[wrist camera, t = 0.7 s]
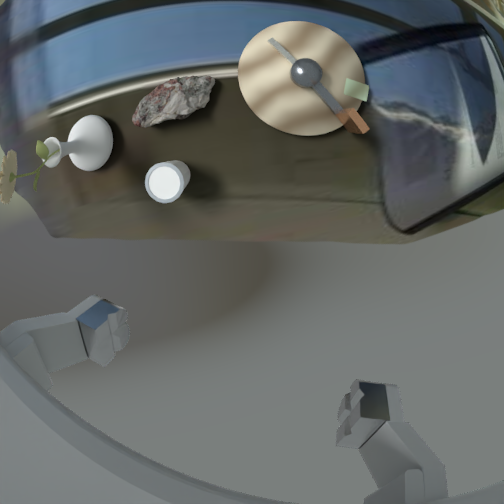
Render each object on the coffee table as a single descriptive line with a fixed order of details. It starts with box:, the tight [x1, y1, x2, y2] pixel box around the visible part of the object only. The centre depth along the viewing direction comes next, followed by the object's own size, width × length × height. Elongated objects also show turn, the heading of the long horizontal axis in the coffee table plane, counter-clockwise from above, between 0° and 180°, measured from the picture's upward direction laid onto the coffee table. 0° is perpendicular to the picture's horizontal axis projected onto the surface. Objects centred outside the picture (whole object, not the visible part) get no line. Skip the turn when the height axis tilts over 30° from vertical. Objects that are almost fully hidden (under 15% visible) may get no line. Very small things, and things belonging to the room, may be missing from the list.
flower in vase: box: [0, 115, 113, 204], centre depth 33 cm, size 13×11×25 cm
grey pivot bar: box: [268, 38, 369, 134], centre depth 35 cm, size 21×5×7 cm, turn 43°
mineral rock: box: [132, 76, 215, 128], centre depth 39 cm, size 15×8×4 cm, turn 97°
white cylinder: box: [145, 160, 191, 203], centre depth 44 cm, size 7×7×7 cm
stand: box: [238, 21, 369, 136], centre depth 38 cm, size 22×22×2 cm
